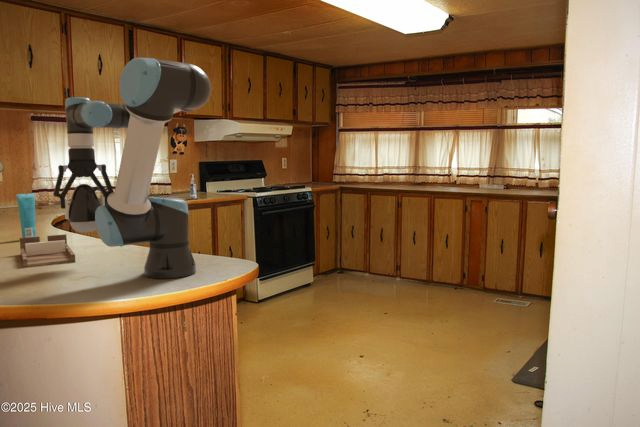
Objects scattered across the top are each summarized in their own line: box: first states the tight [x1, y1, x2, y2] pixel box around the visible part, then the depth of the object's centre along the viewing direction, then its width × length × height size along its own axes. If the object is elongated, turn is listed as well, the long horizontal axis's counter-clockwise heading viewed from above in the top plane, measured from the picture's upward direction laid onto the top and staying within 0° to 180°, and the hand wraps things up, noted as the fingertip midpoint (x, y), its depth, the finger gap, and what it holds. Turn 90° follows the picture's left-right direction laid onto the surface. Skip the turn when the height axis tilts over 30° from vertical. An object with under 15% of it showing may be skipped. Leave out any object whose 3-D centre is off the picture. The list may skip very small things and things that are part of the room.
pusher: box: [25, 240, 66, 255], centre depth 187 cm, size 8×12×4 cm, turn 122°
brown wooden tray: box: [19, 234, 76, 268], centre depth 181 cm, size 24×15×6 cm, turn 32°
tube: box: [15, 192, 37, 238], centre depth 217 cm, size 7×5×19 cm, turn 152°
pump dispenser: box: [67, 183, 101, 233], centre depth 168 cm, size 10×10×15 cm
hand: (85, 217), depth 168 cm, fingers closed on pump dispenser, 10 cm apart
